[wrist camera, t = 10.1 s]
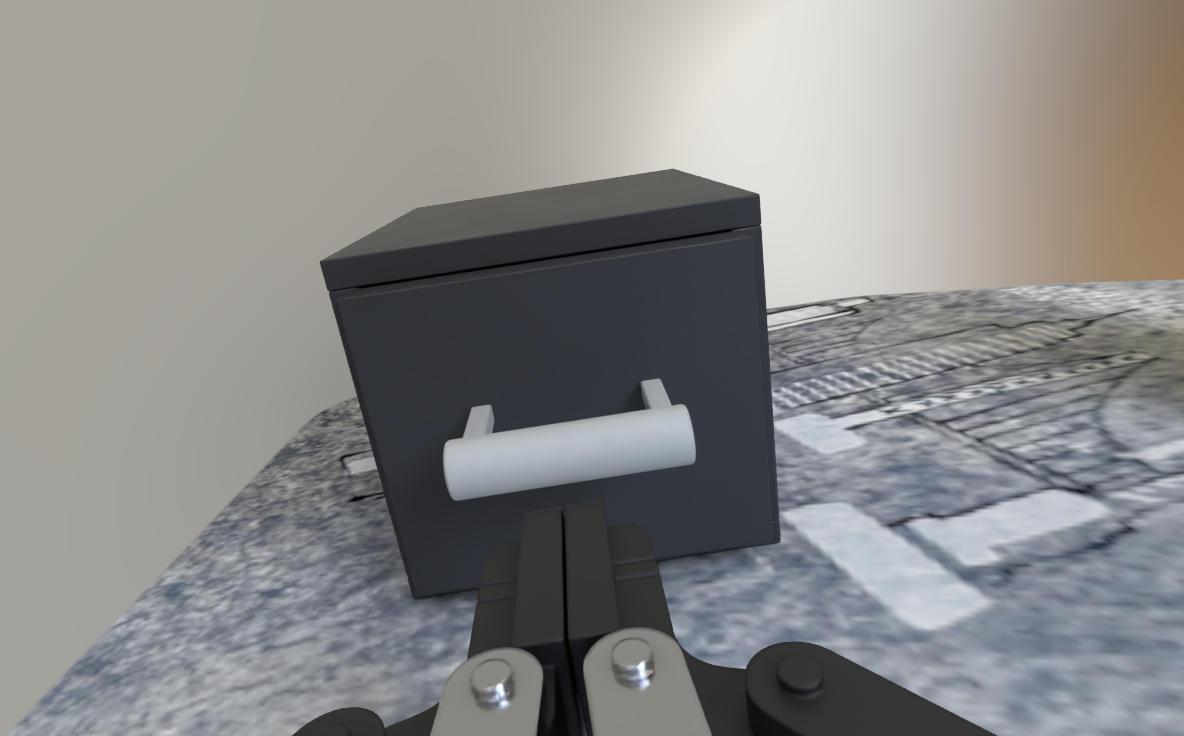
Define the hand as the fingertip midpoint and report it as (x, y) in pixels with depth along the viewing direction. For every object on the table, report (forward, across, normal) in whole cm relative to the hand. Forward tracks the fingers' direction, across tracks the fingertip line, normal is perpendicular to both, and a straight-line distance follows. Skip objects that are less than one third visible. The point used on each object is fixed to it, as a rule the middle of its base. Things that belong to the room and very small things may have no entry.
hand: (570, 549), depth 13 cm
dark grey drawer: (+13, 0, +6) cm, 14 cm away
